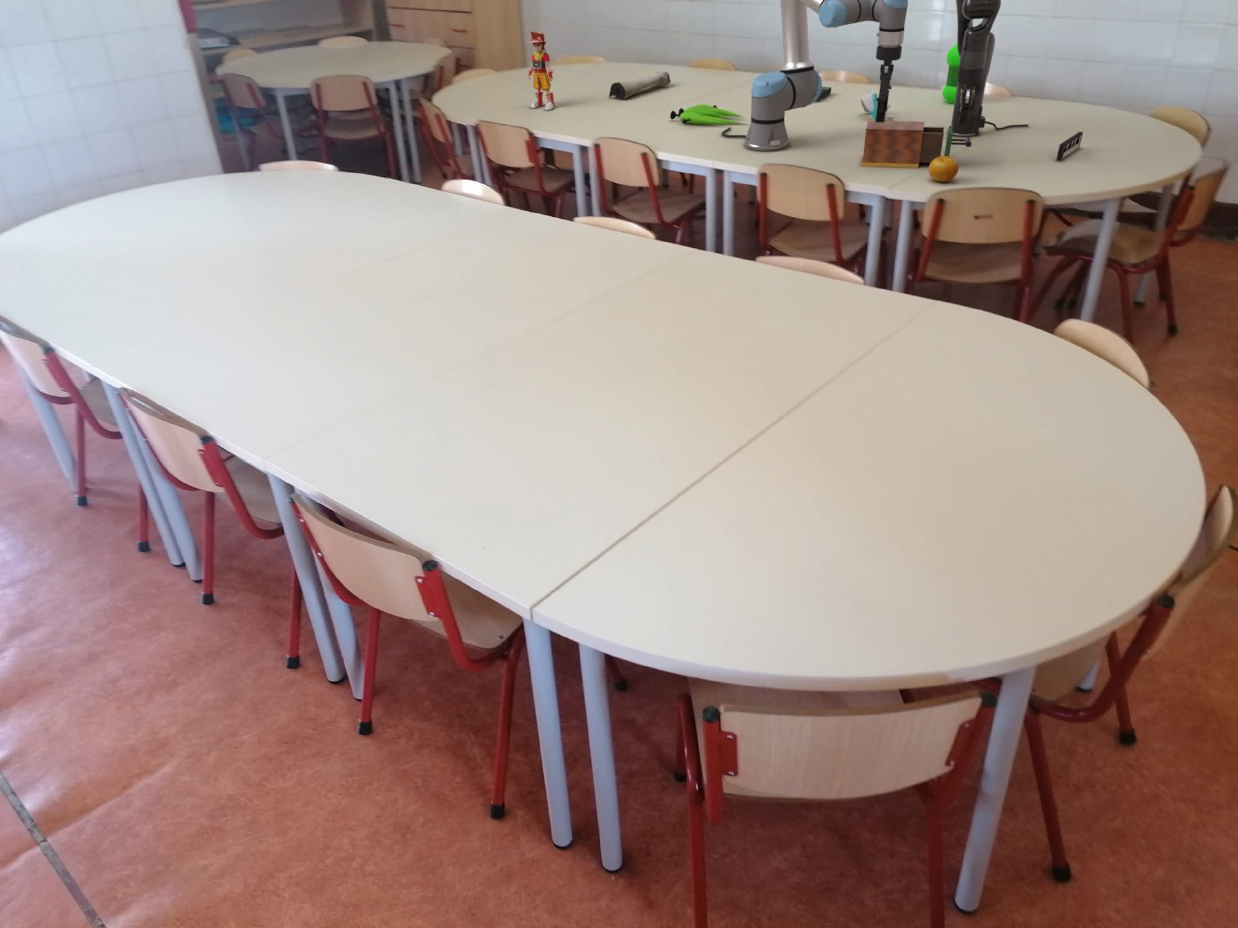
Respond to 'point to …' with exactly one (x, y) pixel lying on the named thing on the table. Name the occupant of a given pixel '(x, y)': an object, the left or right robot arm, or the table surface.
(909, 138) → the cabinet
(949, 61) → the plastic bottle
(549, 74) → the toy
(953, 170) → the fruit
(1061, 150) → the midi keyboard
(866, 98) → the anatomical model
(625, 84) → the rolled mat
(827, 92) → the disk drive
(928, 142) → the drawer
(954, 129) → the right robot arm
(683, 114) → the toy
